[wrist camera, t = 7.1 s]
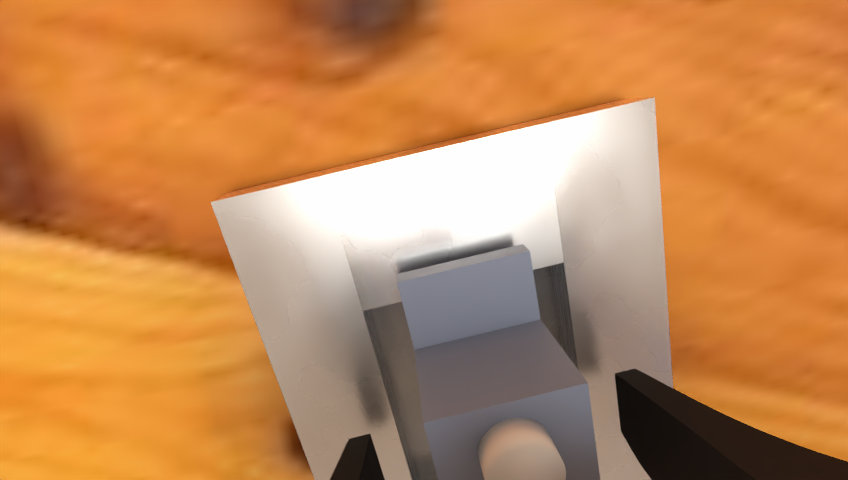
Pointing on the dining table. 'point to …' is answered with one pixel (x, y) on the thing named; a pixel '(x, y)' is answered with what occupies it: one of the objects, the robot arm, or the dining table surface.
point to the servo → (495, 374)
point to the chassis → (447, 241)
